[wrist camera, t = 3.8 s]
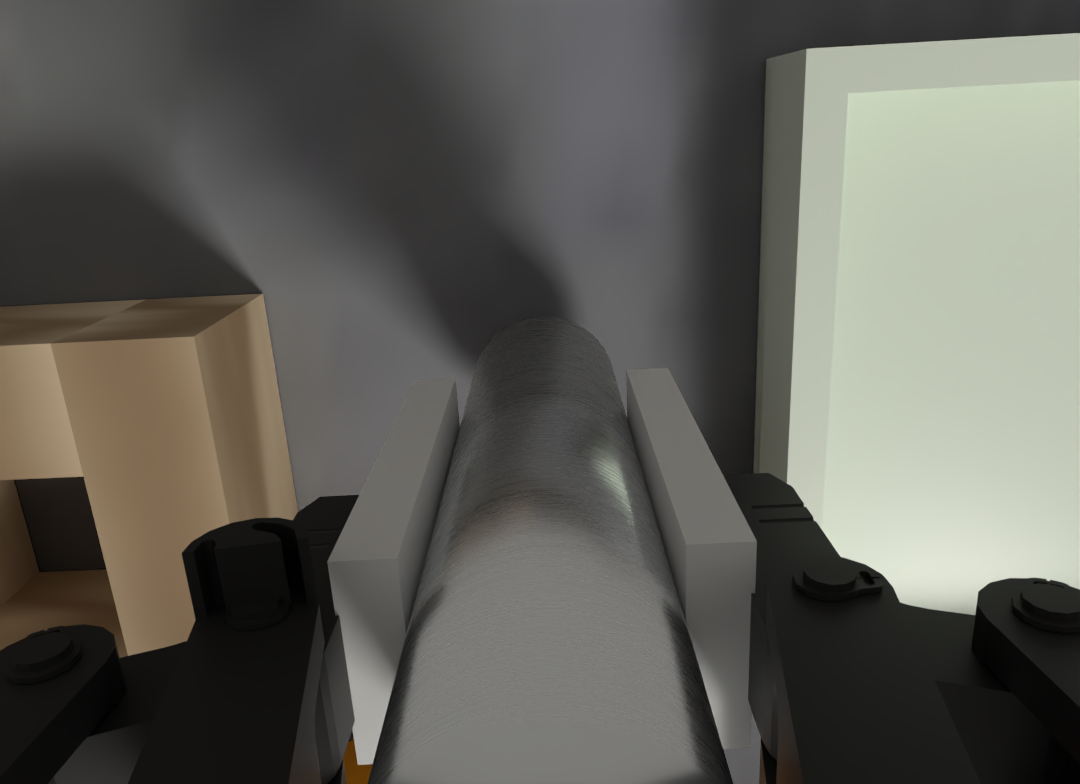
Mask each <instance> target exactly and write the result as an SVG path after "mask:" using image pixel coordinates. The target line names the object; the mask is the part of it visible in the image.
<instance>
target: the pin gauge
mask: <svg viewBox="0 0 1080 784" xmlns="http://www.w3.org/2000/svg"><path fill="white" fill-rule="evenodd" d="M368 784H733V782H732V778H731V775H730V771H729V768H728V764H727V761H726V758H725V754H724V751H723V747H722V744H721V740H720V737H719V733H718V730H717V726H716V723H715V720H714V716H713V713H712V709H711V706H710V702H709V699H708V695H707V692H706V689H705V685H704V682H703V678H702V675H701V671H700V668H699V664H698V661H697V658H696V654H695V651H694V647H693V644H692V640H691V637H690V633H689V630H688V626H687V623H686V620H685V616H684V613H683V609H682V606H681V602H680V599H679V595H678V592H677V589H676V585H675V582H674V578H673V575H672V571H671V568H670V564H669V561H668V558H667V554H666V551H665V547H664V544H663V540H662V537H661V533H660V530H659V526H658V523H657V520H656V516H655V513H654V509H653V506H652V502H651V499H650V495H649V492H648V489H647V485H646V482H645V478H644V475H643V471H642V468H641V464H640V461H639V458H638V454H637V451H636V447H635V444H634V440H633V437H632V433H631V430H630V427H629V423H628V420H627V416H626V413H625V409H624V406H623V402H622V399H621V395H620V392H619V389H618V385H617V382H616V378H615V375H614V371H613V368H612V364H611V362H610V359H609V357H608V355H607V353H606V351H605V349H604V348H603V346H602V345H601V344H600V342H599V341H598V340H597V339H596V338H595V337H594V336H593V335H592V334H591V333H590V332H588V331H587V330H586V329H584V328H583V327H581V326H579V325H577V324H575V323H573V322H571V321H568V320H565V319H561V318H556V317H532V318H527V319H523V320H520V321H517V322H515V323H513V324H511V325H509V326H507V327H505V328H504V329H502V330H501V331H500V332H498V333H497V334H496V335H495V336H494V337H493V338H492V339H491V340H490V341H489V342H488V344H487V345H486V346H485V348H484V349H483V351H482V353H481V354H480V357H479V359H478V361H477V364H476V368H475V372H474V376H473V379H472V383H471V387H470V391H469V395H468V399H467V403H466V406H465V410H464V414H463V418H462V422H461V426H460V430H459V433H458V437H457V441H456V445H455V449H454V453H453V456H452V460H451V464H450V468H449V472H448V476H447V480H446V483H445V487H444V491H443V495H442V499H441V503H440V507H439V510H438V514H437V518H436V522H435V526H434V530H433V533H432V537H431V541H430V545H429V549H428V553H427V557H426V560H425V564H424V568H423V572H422V576H421V580H420V584H419V587H418V591H417V595H416V599H415V603H414V607H413V610H412V614H411V618H410V622H409V626H408V630H407V634H406V637H405V641H404V645H403V649H402V653H401V657H400V661H399V664H398V668H397V672H396V676H395V680H394V684H393V687H392V691H391V695H390V699H389V703H388V707H387V711H386V714H385V718H384V722H383V726H382V730H381V734H380V738H379V741H378V745H377V749H376V753H375V757H374V761H373V764H372V768H371V772H370V776H369V780H368Z"/></svg>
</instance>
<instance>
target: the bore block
mask: <svg viewBox="0 0 1080 784" xmlns="http://www.w3.org/2000/svg"><path fill="white" fill-rule="evenodd" d="M62 477H84V481H85V485H86V489H87V493H88V497H89V501H90V505H91V509H92V513H93V517H94V521H95V525H96V529H97V533H98V537H99V541H100V545H101V549H102V553H103V557H104V561H105V565H106V569H105V570H80V571H55V572H39V569H38V565H37V562H36V558H35V554H34V551H33V547H32V544H31V540H30V536H29V533H28V529H27V526H26V522H25V518H24V515H23V511H22V508H21V504H20V500H19V497H18V493H17V490H16V486H15V482H14V480H16V479H39V478H62ZM297 513H298V508H297V502H296V495H295V489H294V483H293V477H292V471H291V464H290V458H289V452H288V446H287V439H286V433H285V427H284V421H283V415H282V408H281V402H280V396H279V390H278V384H277V377H276V371H275V365H274V359H273V353H272V346H271V340H270V334H269V328H268V321H267V315H266V309H265V303H264V297H263V294H245V295H225V296H205V297H185V298H165V299H145V300H124V301H104V302H84V303H64V304H44V305H24V306H4V307H0V651H1V650H2V649H4V648H5V647H6V646H9V645H11V644H13V643H15V642H17V641H19V640H22V639H24V638H26V637H27V636H28V635H30V634H32V633H35V632H38V631H41V630H45V631H47V630H48V628H52V627H57V626H72V625H81V624H86V625H93V626H100V627H104V628H105V629H106V630H108V631H109V632H111V633H112V634H114V637H115V641H116V645H117V649H118V653H119V657H120V658H121V657H125V656H130V655H134V654H138V653H143V652H147V651H151V650H156V649H160V648H164V647H168V646H171V645H175V644H178V643H182V642H185V641H187V640H188V637H189V635H190V632H191V630H192V628H193V625H194V623H195V615H194V610H193V605H192V601H191V596H190V591H189V586H188V582H187V577H186V572H185V567H184V563H183V558H182V552H183V551H184V550H185V549H186V548H187V546H188V545H189V544H190V543H191V542H192V541H193V540H195V539H197V538H199V537H200V536H202V535H204V534H205V533H207V532H209V531H211V530H213V529H216V528H219V527H222V526H225V525H227V524H230V523H233V522H239V521H244V520H249V519H254V518H277V517H278V518H283V519H289V520H293V519H294V517H295V516H296V514H297Z"/></svg>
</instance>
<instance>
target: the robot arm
mask: <svg viewBox="0 0 1080 784" xmlns="http://www.w3.org/2000/svg"><path fill="white" fill-rule="evenodd" d="M626 376H627V420H628V423H629V427H630V430H631V433H632V437H633V440H634V444H635V447H636V451H637V454H638V458H639V461H640V464H641V468H642V471H643V475H644V478H645V482H646V485H647V489H648V492H649V495H650V499H651V502H652V506H653V509H654V513H655V516H656V520H657V523H658V526H659V530H660V533H661V537H662V540H663V544H664V547H665V551H666V554H667V558H668V561H669V564H670V568H671V571H672V575H673V578H674V582H675V585H676V589H677V592H678V595H679V599H680V602H681V606H682V609H683V613H684V616H685V620H686V623H687V626H688V630H689V633H690V637H691V640H692V644H693V647H694V651H695V654H696V658H697V661H698V664H699V668H700V671H701V675H702V678H703V682H704V685H705V689H706V692H707V695H708V699H709V702H710V706H711V709H712V713H713V716H714V720H715V723H716V726H717V730H718V733H719V737H720V740H721V744H722V747H723V749H738V748H750V740H751V710H752V713H753V716H754V719H755V721H756V724H757V727H758V730H759V733H760V735H761V751H760V778H759V784H1080V590H1079V589H1077V588H1074V587H1071V586H1069V585H1067V584H1065V583H1063V582H1058V581H1054V580H1050V581H1047V580H1046V579H1042V578H1008V579H1003V580H999V581H995V582H990V583H989V584H987V585H986V586H985V587H984V588H982V589H981V590H980V591H978V598H977V606H976V614H975V615H970V614H962V613H955V612H948V611H940V610H933V609H927V608H921V607H916V606H911V605H907V604H904V603H901V602H899V599H898V597H897V595H896V593H895V590H894V588H893V586H892V585H891V584H890V583H889V582H888V580H887V579H886V578H885V577H884V576H883V575H882V574H881V573H879V572H877V571H876V570H874V569H872V568H870V567H869V566H867V565H865V564H862V563H859V562H856V561H853V560H850V559H847V558H843V557H840V555H839V554H838V552H837V551H836V550H835V548H834V547H833V545H832V544H831V542H830V541H829V539H828V538H827V536H826V535H825V534H824V532H823V531H822V529H821V528H820V526H819V525H818V523H817V522H816V521H814V519H813V516H812V515H811V513H810V512H809V510H808V509H807V507H804V503H803V501H802V500H801V499H800V497H799V496H798V494H797V493H796V491H795V490H794V488H793V487H792V486H790V485H789V484H787V483H785V482H784V481H782V480H780V479H778V478H777V477H775V476H773V475H772V474H770V473H751V474H730V475H723V474H722V472H721V470H720V469H719V467H718V465H717V463H716V461H715V459H714V457H713V455H712V453H711V451H710V449H709V447H708V445H707V443H706V441H705V439H704V437H703V435H702V433H701V431H700V430H699V428H698V426H697V424H696V422H695V420H694V418H693V416H692V414H691V412H690V410H689V408H688V406H687V404H686V402H685V400H684V398H683V396H682V394H681V392H680V391H679V389H678V387H677V385H676V383H675V381H674V379H673V377H672V375H671V373H670V371H669V369H668V368H654V369H634V370H626ZM459 430H460V425H459V414H458V403H457V391H456V380H455V379H436V380H416V381H414V382H413V384H412V386H411V388H410V391H409V393H408V395H407V397H406V399H405V401H404V403H403V405H402V407H401V409H400V411H399V413H398V415H397V418H396V420H395V422H394V424H393V426H392V428H391V430H390V432H389V434H388V436H387V438H386V440H385V443H384V445H383V447H382V449H381V451H380V453H379V455H378V457H377V459H376V461H375V463H374V465H373V468H372V470H371V472H370V474H369V476H368V478H367V480H366V482H365V484H364V486H363V488H362V490H361V493H360V495H348V496H328V497H319V498H318V499H317V500H315V501H314V502H312V503H311V504H309V505H308V506H306V507H305V508H304V509H302V510H301V511H299V512H298V513H297V514H296V516H295V517H294V519H293V520H289V519H283V518H278V517H277V518H254V519H249V520H244V521H239V522H233V523H230V524H227V525H225V526H222V527H219V528H216V529H213V530H211V531H209V532H207V533H205V534H204V535H202V536H200V537H199V538H197V539H195V540H193V541H192V542H191V543H190V544H189V545H188V546H187V548H186V549H185V550H184V551H183V552H182V558H183V563H184V567H185V572H186V577H187V582H188V586H189V591H190V596H191V601H192V605H193V610H194V615H195V623H194V625H193V628H192V630H191V632H190V635H189V637H188V640H187V641H185V642H182V643H178V644H175V645H171V646H168V647H164V648H160V649H156V650H151V651H147V652H143V653H138V654H134V655H130V656H125V657H121V658H120V657H119V653H118V649H117V645H116V641H115V637H114V634H112V633H111V632H109V631H108V630H106V629H105V628H104V627H100V626H93V625H86V624H81V625H72V626H57V627H52V628H48V630H47V631H45V630H41V631H38V632H35V633H32V634H30V635H28V636H27V637H26V638H24V639H22V640H19V641H17V642H15V643H13V644H11V645H9V646H6V647H5V648H4V649H2V650H1V651H0V784H347V780H346V774H345V768H344V761H343V757H344V754H345V751H346V748H347V744H348V741H349V738H350V735H351V731H352V730H353V736H354V743H355V750H356V756H357V763H358V765H366V764H373V761H374V757H375V753H376V749H377V745H378V741H379V738H380V734H381V730H382V726H383V722H384V718H385V714H386V711H387V707H388V703H389V699H390V695H391V691H392V687H393V684H394V680H395V676H396V672H397V668H398V664H399V661H400V657H401V653H402V649H403V645H404V641H405V637H406V634H407V630H408V626H409V622H410V618H411V614H412V610H413V607H414V603H415V599H416V595H417V591H418V587H419V584H420V580H421V576H422V572H423V568H424V564H425V560H426V557H427V553H428V549H429V545H430V541H431V537H432V533H433V530H434V526H435V522H436V518H437V514H438V510H439V507H440V503H441V499H442V495H443V491H444V487H445V483H446V480H447V476H448V472H449V468H450V464H451V460H452V456H453V453H454V449H455V445H456V441H457V437H458V433H459Z"/></svg>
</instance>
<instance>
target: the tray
mask: <svg viewBox="0 0 1080 784" xmlns="http://www.w3.org/2000/svg"><path fill="white" fill-rule="evenodd" d="M753 473H770V474H772V475H773V476H775V477H777V478H778V479H780V480H782V481H784V482H785V483H787V484H789V485H790V486H792V487H793V488H794V490H795V491H796V493H797V494H798V496H799V497H800V499H801V500H802V501H803V503H804V507H807V509H808V510H809V512H810V513H811V515H812V516H813V519H814V521H816V522H817V523H818V525H819V526H820V528H821V529H822V531H823V532H824V534H825V535H826V536H827V538H828V539H829V541H830V542H831V544H832V545H833V547H834V548H835V550H836V551H837V552H838V554H839V555H840V557H843V558H847V559H850V560H853V561H856V562H859V563H862V564H865V565H867V566H869V567H870V568H872V569H874V570H876V571H877V572H879V573H881V574H882V575H883V576H884V577H885V578H886V579H887V580H888V582H889V583H890V584H891V585H892V586H893V588H894V590H895V593H896V595H897V597H898V599H899V602H901V603H904V604H907V605H911V606H916V607H921V608H927V609H933V610H940V611H948V612H955V613H962V614H970V615H975V614H976V606H977V598H978V591H980V590H981V589H982V588H984V587H985V586H986V585H987V584H989V583H990V582H995V581H999V580H1003V579H1008V578H1042V579H1046V580H1047V581H1050V580H1054V581H1058V582H1063V583H1065V584H1067V585H1069V586H1071V587H1074V588H1077V589H1079V590H1080V33H1070V34H1053V35H1036V36H1018V37H1001V38H984V39H966V40H949V41H931V42H914V43H897V44H879V45H862V46H845V47H827V48H810V49H803V50H800V51H796V52H792V53H788V54H784V55H780V56H776V57H772V58H768V59H766V82H765V114H764V146H763V178H762V210H761V242H760V274H759V306H758V338H757V370H756V402H755V434H754V466H753Z"/></svg>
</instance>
